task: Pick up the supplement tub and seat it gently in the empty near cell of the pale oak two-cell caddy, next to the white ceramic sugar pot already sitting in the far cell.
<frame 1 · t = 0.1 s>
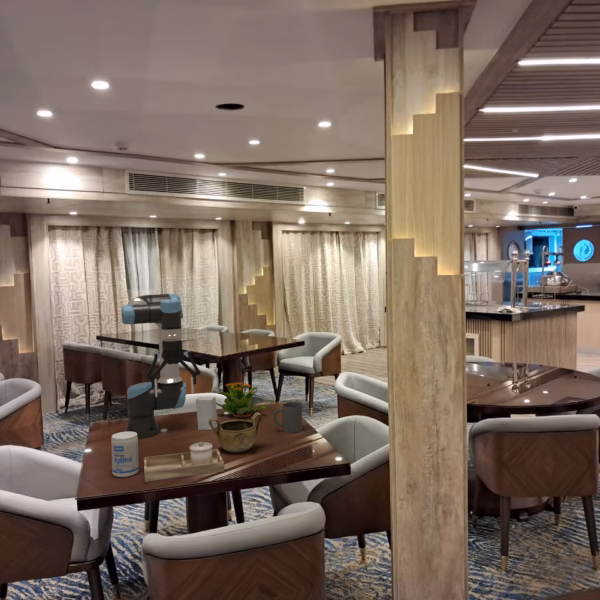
hand: (174, 394, 212), 28 cm above the table, fingers open, 13 cm apart
sugar pot: (201, 465, 211), point 1 cm above the table, touching caddy
ceramic bowl: (237, 451, 230), on the table
skincare box: (207, 428, 263), on the table
supplement tub: (126, 473, 208), on the table
caddy: (183, 470, 209), on the table
mug: (288, 431, 255), on the table
potted flower: (243, 416, 284), on the table
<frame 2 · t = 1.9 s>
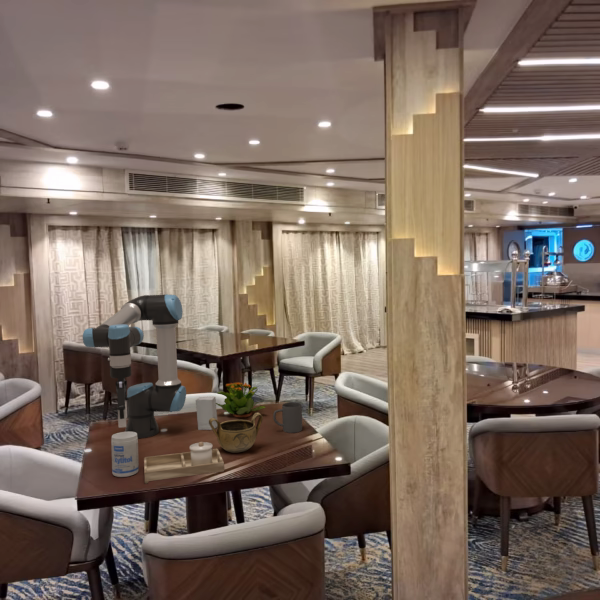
hand: (123, 422, 207), 19 cm above the table, fingers open, 13 cm apart
nothing on the table moved.
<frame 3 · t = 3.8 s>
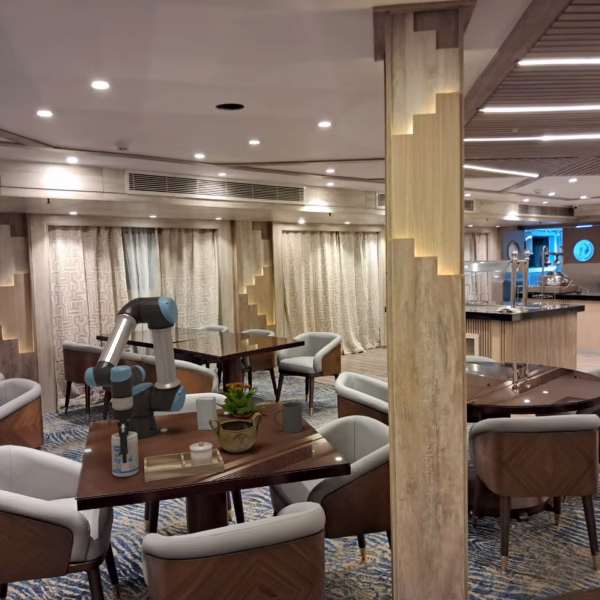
hand: (125, 466, 208), 3 cm above the table, fingers closed on supplement tub, 9 cm apart
supplement tub: (126, 473, 208), on the table, touching gripper
everything else where it was.
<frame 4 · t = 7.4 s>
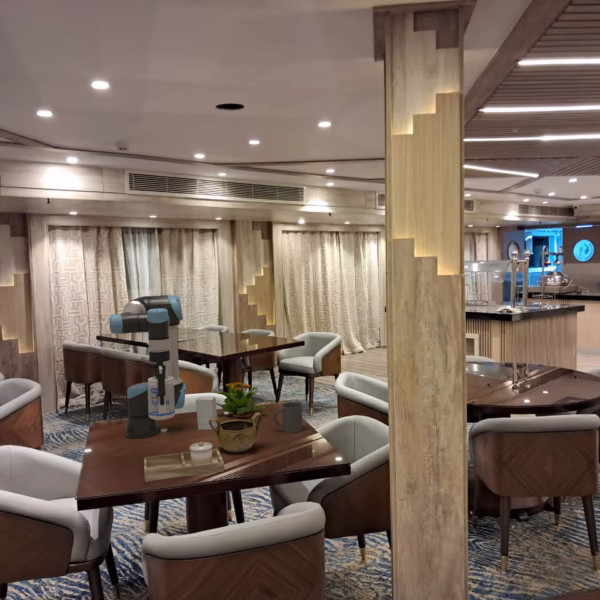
hand: (162, 409, 206), 24 cm above the table, fingers closed on supplement tub, 9 cm apart
supplement tub: (162, 417, 206), point 21 cm above the table, touching gripper
everything else where it was.
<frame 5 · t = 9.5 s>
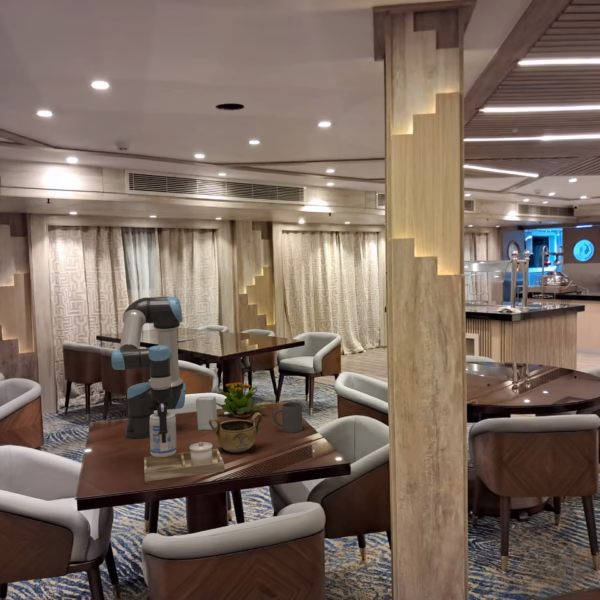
hand: (163, 446, 206), 10 cm above the table, fingers closed on supplement tub, 9 cm apart
supplement tub: (163, 454, 207), point 7 cm above the table, touching gripper
everything else where it was.
when the fingers open (6 cm above the table, at t = 11.1 s): supplement tub drops 2 cm, resting on caddy.
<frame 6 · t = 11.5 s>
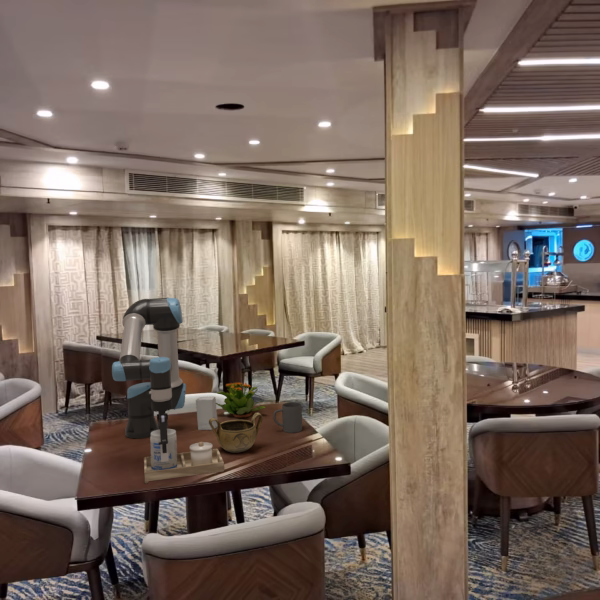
hand: (164, 455, 207), 7 cm above the table, fingers open, 13 cm apart
supplement tub: (164, 470, 207), point 1 cm above the table, touching caddy
everything else where it was.
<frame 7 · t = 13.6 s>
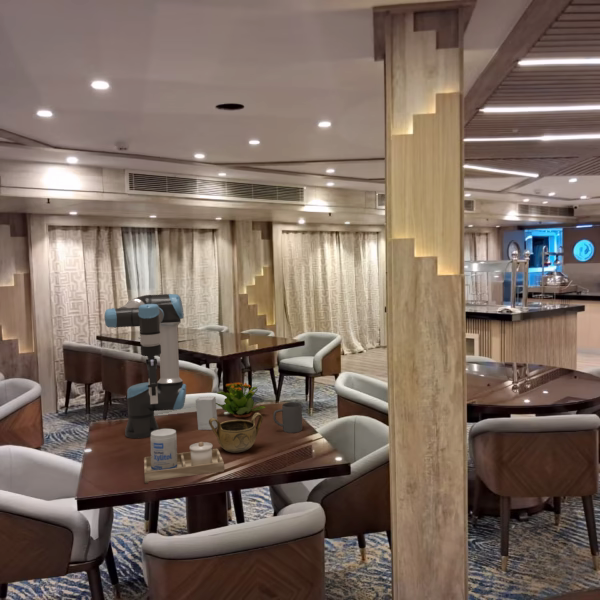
hand: (153, 399, 212), 26 cm above the table, fingers open, 13 cm apart
nothing on the table moved.
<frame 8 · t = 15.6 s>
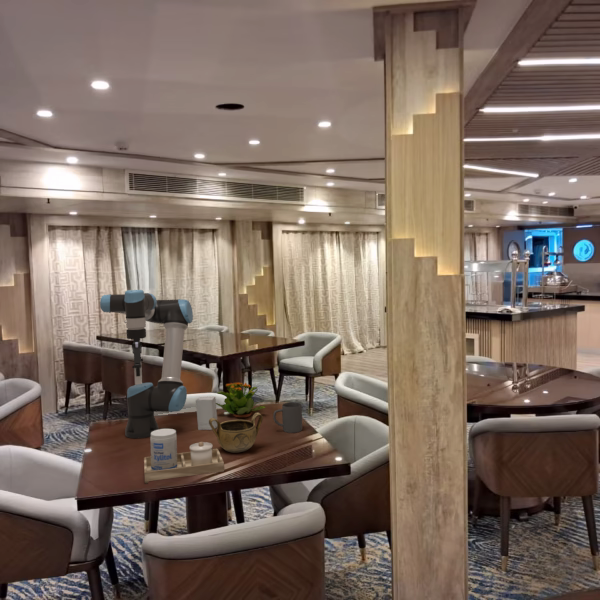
hand: (138, 380, 222), 32 cm above the table, fingers open, 13 cm apart
nothing on the table moved.
at the end: supplement tub inside the target area on the caddy (0.2 cm from its centre), point 0.6 cm above the caddy's base; supplement tub tilted 0°; the gripper is holding nothing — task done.
